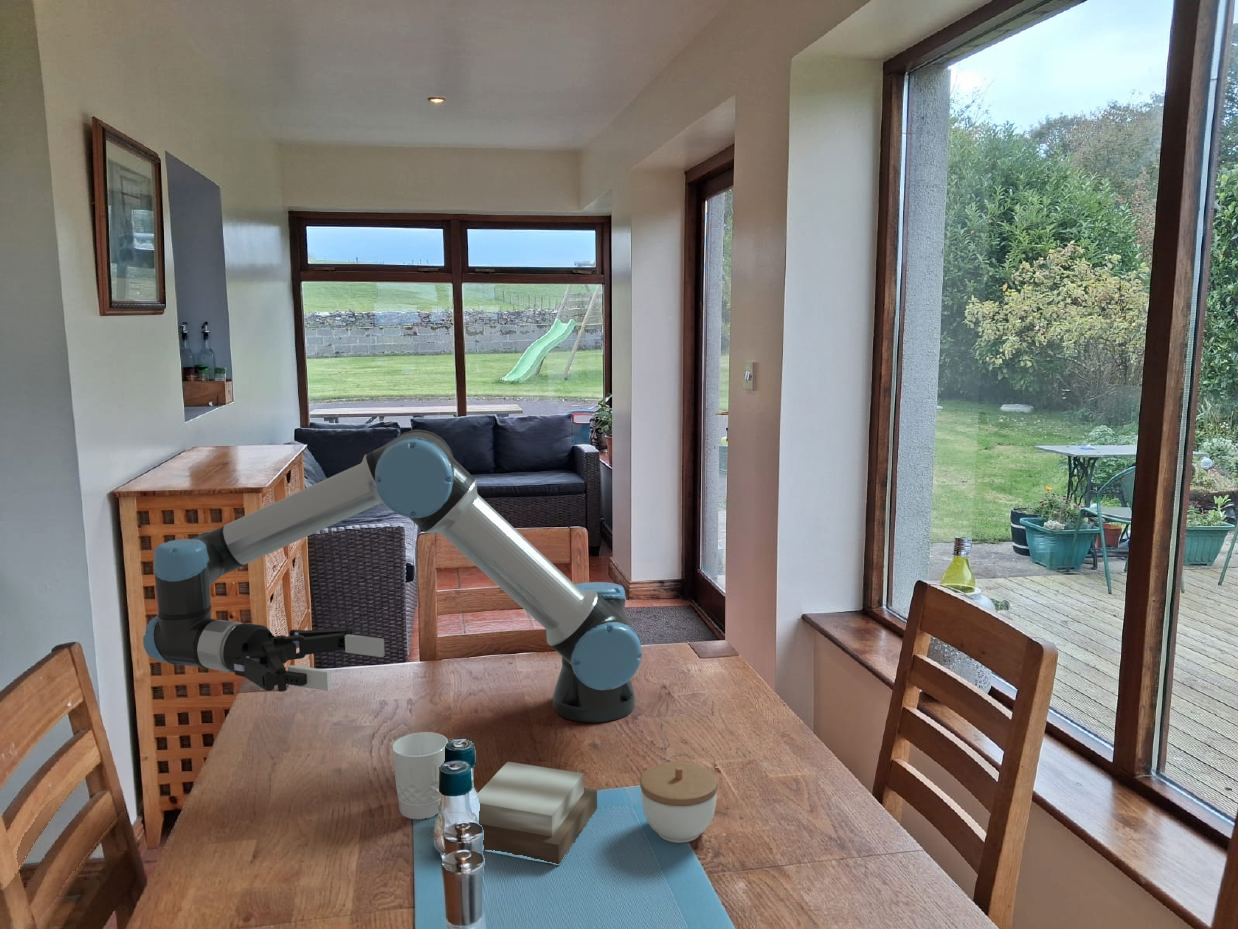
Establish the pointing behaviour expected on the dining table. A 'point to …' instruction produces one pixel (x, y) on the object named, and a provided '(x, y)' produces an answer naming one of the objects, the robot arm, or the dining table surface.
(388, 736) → the dining table surface
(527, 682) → the dining table surface
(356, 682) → the dining table surface
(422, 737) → the white cup
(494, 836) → the block stand
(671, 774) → the lidded jar
